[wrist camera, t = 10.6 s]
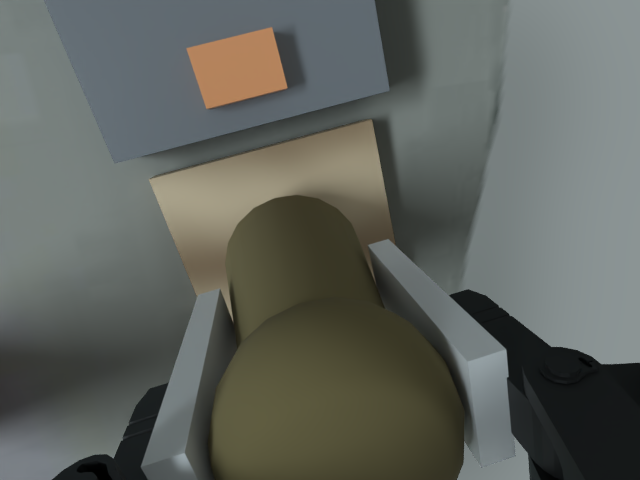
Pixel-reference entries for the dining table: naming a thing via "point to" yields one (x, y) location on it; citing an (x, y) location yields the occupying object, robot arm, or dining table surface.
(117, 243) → the dining table surface
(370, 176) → the oak board
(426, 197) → the dining table surface
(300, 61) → the power strip
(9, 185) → the dining table surface
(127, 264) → the dining table surface
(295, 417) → the olive knobbed peg
